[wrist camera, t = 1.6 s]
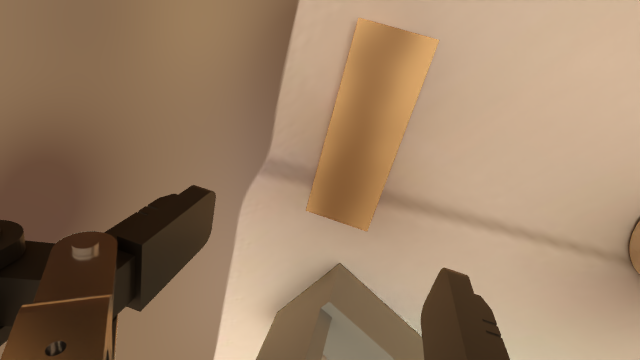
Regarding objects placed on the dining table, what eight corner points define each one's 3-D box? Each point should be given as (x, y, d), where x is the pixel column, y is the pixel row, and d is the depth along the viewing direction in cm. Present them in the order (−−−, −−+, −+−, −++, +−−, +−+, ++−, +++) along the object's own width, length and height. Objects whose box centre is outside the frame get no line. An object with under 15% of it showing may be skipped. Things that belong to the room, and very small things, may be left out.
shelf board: (434, 40, 23) (439, 40, 20) (370, 213, 28) (367, 231, 26) (363, 20, 23) (358, 17, 20) (314, 194, 29) (305, 210, 26)
